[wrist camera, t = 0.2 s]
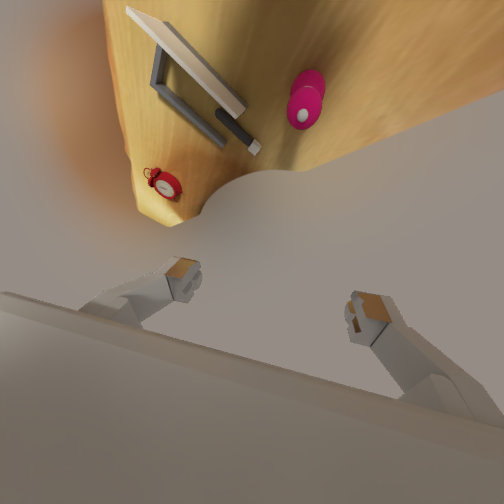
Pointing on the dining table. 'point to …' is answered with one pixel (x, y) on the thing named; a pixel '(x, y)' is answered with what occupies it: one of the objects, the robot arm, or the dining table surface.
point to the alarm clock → (164, 184)
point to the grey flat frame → (174, 99)
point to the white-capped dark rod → (238, 131)
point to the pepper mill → (306, 99)
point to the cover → (187, 61)
